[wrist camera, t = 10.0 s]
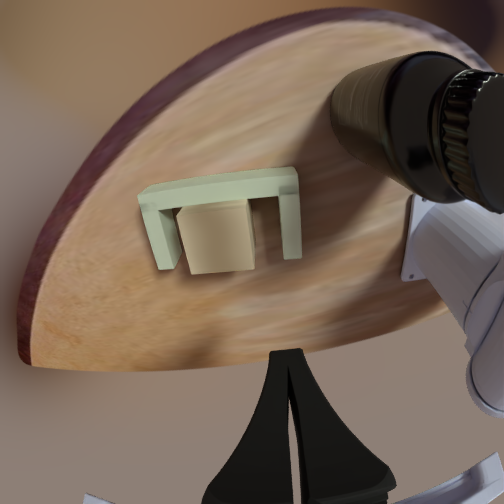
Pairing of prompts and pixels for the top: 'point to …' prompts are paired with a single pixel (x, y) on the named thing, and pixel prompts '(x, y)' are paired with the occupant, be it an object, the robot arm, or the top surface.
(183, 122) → the top surface
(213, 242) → the birch block
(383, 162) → the supplement bottle
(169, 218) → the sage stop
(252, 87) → the top surface
